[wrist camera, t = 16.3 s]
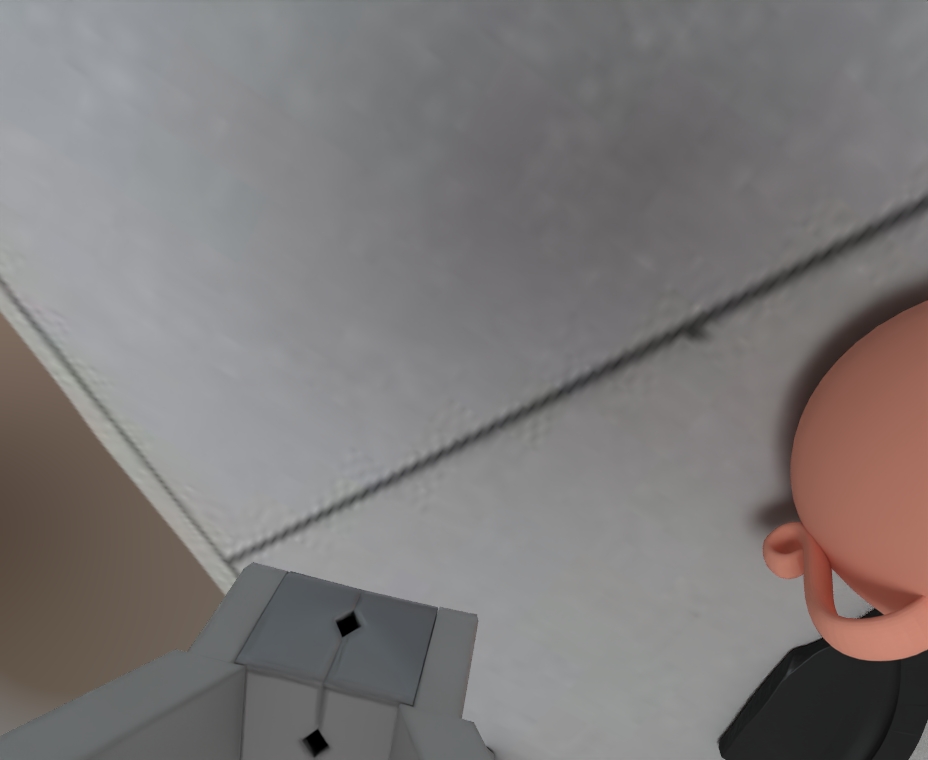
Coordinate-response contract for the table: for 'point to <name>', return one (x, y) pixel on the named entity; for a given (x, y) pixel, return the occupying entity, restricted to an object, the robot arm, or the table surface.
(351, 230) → the table surface
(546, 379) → the table surface
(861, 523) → the teapot
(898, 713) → the dark sector wedge
